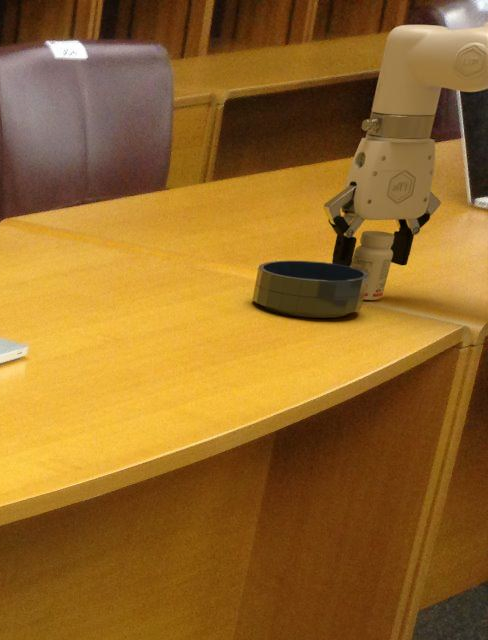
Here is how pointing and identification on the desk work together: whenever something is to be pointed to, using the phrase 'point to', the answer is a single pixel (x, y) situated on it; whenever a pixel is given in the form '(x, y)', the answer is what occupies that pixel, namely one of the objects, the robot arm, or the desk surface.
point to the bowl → (310, 288)
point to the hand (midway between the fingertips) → (369, 263)
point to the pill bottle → (374, 261)
